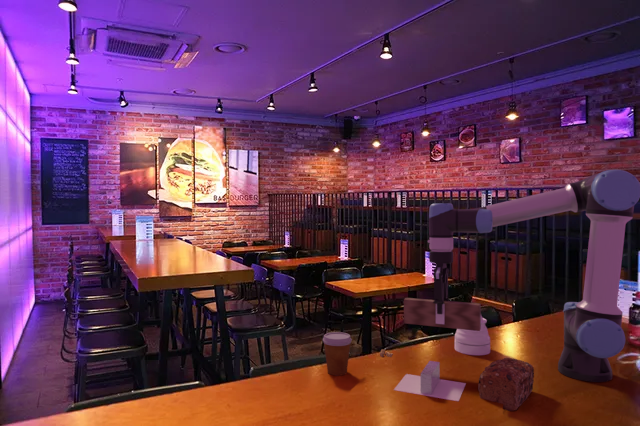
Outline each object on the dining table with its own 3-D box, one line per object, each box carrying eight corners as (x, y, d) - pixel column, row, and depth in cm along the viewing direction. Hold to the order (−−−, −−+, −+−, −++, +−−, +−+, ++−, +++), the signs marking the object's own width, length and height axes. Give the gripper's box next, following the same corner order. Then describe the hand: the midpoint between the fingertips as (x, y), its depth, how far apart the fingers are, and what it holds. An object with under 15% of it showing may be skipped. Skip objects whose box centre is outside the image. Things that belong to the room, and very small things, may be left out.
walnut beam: (480, 328, 142) (480, 303, 142) (479, 331, 139) (479, 305, 139) (406, 321, 152) (406, 297, 152) (403, 323, 150) (403, 299, 150)
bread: (517, 414, 116) (516, 375, 116) (476, 403, 123) (476, 367, 123) (535, 392, 130) (535, 357, 130) (498, 383, 137) (498, 350, 137)
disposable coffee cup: (355, 369, 149) (355, 333, 149) (345, 379, 140) (345, 341, 140) (329, 365, 153) (329, 330, 153) (317, 374, 144) (317, 337, 144)
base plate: (465, 388, 133) (465, 383, 133) (458, 406, 120) (458, 401, 120) (406, 378, 141) (406, 373, 141) (393, 395, 128) (393, 389, 128)
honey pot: (495, 355, 164) (495, 306, 164) (460, 355, 164) (460, 306, 164) (483, 345, 176) (483, 299, 176) (450, 344, 177) (450, 299, 177)
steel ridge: (439, 380, 135) (439, 362, 135) (431, 394, 124) (431, 375, 124) (429, 378, 136) (429, 360, 136) (420, 393, 126) (420, 373, 126)
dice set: (391, 360, 160) (391, 354, 160) (377, 358, 162) (377, 353, 162) (395, 356, 165) (395, 350, 165) (381, 354, 167) (381, 349, 167)
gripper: (434, 248, 155) (434, 316, 155) (424, 252, 140) (424, 326, 140) (456, 249, 151) (457, 318, 151) (448, 252, 137) (448, 329, 137)
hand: (441, 322), depth 146 cm, fingers closed on walnut beam, 3 cm apart
